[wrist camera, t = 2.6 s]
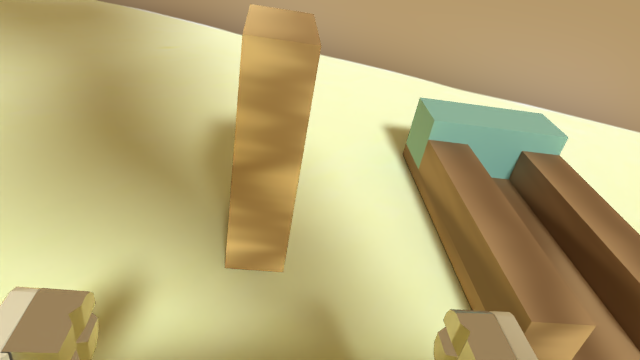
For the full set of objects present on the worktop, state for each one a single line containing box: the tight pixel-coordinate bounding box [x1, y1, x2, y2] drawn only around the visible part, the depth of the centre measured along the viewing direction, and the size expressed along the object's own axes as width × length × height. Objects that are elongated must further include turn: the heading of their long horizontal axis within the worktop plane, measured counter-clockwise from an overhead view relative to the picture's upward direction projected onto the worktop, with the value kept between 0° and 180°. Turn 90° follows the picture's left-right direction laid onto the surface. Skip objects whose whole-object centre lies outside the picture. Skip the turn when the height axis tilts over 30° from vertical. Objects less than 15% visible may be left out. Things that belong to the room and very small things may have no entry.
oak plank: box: [225, 4, 321, 272], centre depth 23 cm, size 3×5×12 cm, turn 4°
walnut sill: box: [403, 98, 640, 360], centre depth 29 cm, size 10×20×5 cm, turn 4°
